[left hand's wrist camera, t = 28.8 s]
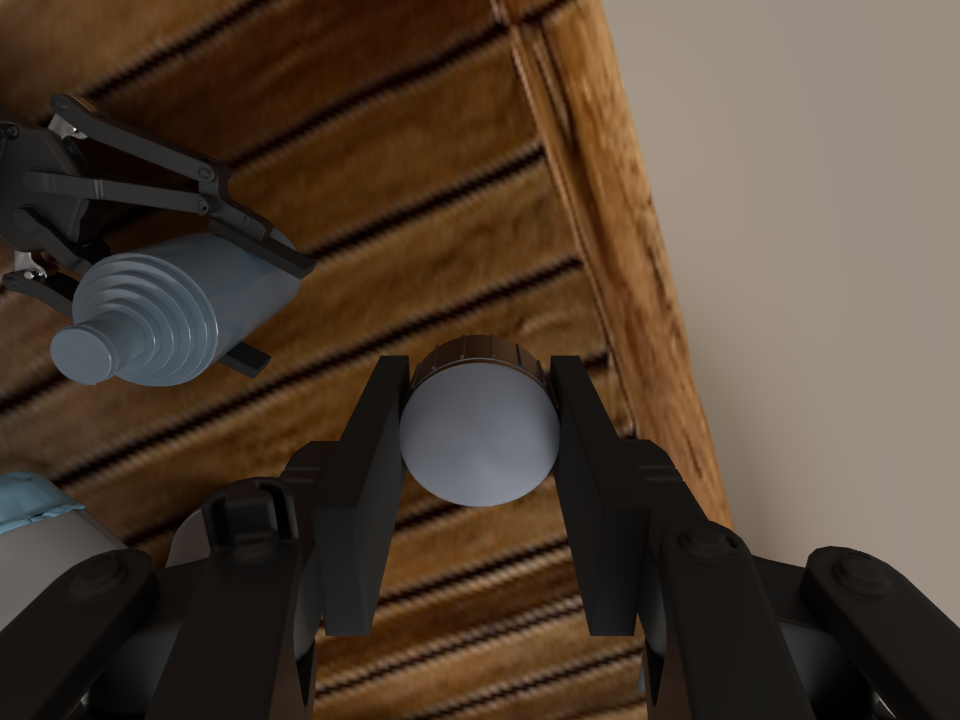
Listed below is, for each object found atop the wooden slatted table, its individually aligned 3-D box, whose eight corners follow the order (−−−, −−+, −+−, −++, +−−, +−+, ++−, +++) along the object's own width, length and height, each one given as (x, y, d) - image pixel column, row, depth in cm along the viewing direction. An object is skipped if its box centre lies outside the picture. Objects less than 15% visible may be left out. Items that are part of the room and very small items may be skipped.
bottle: (198, 219, 41) (-34, 274, 22) (296, 219, 41) (144, 273, 22) (217, 313, 44) (23, 431, 25) (308, 313, 44) (182, 430, 25)
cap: (451, 485, 16) (447, 532, 14) (378, 373, 14) (362, 407, 12) (576, 428, 15) (590, 470, 13) (511, 305, 14) (516, 331, 12)
